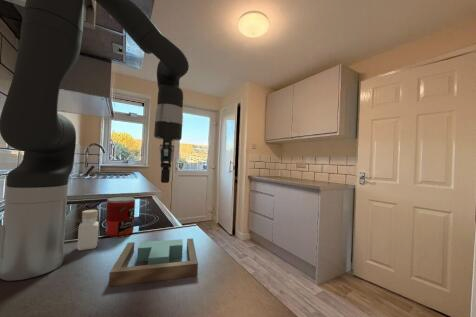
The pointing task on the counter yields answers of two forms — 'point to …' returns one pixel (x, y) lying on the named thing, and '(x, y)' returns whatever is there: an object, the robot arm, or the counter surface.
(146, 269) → the tray
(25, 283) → the counter surface
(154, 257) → the teal T block
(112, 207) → the canned food
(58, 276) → the counter surface
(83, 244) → the salt shaker
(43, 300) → the counter surface
